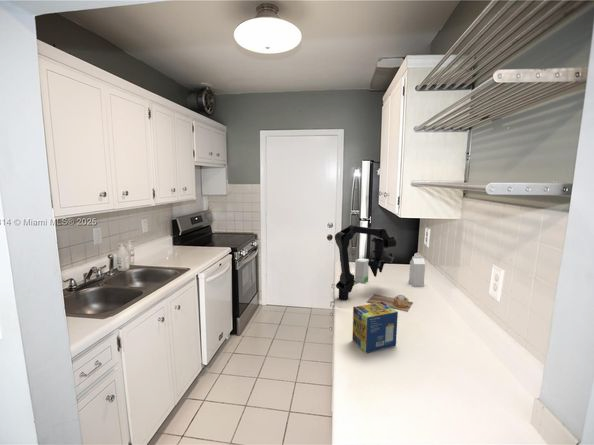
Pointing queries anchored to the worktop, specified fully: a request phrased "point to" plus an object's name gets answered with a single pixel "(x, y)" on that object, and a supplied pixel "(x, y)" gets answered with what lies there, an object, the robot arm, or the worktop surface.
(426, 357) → the worktop surface
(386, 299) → the post board
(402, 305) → the wooden ring
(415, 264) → the milk carton
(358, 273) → the skincare box
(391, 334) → the protein box
